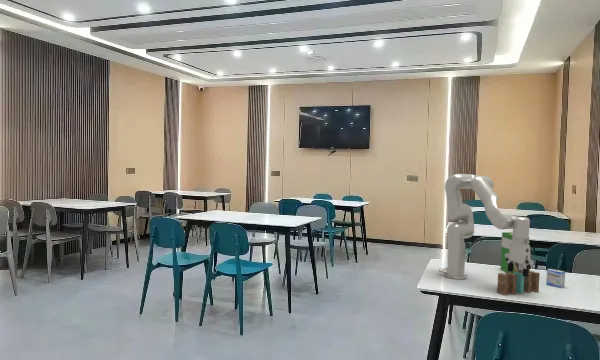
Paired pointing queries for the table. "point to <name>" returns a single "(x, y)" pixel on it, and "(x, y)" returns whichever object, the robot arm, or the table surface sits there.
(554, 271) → the medicine box
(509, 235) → the hardback book
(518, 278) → the gap domino
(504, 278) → the domino
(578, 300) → the table surface
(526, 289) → the domino
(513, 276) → the domino
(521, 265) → the coffee box
